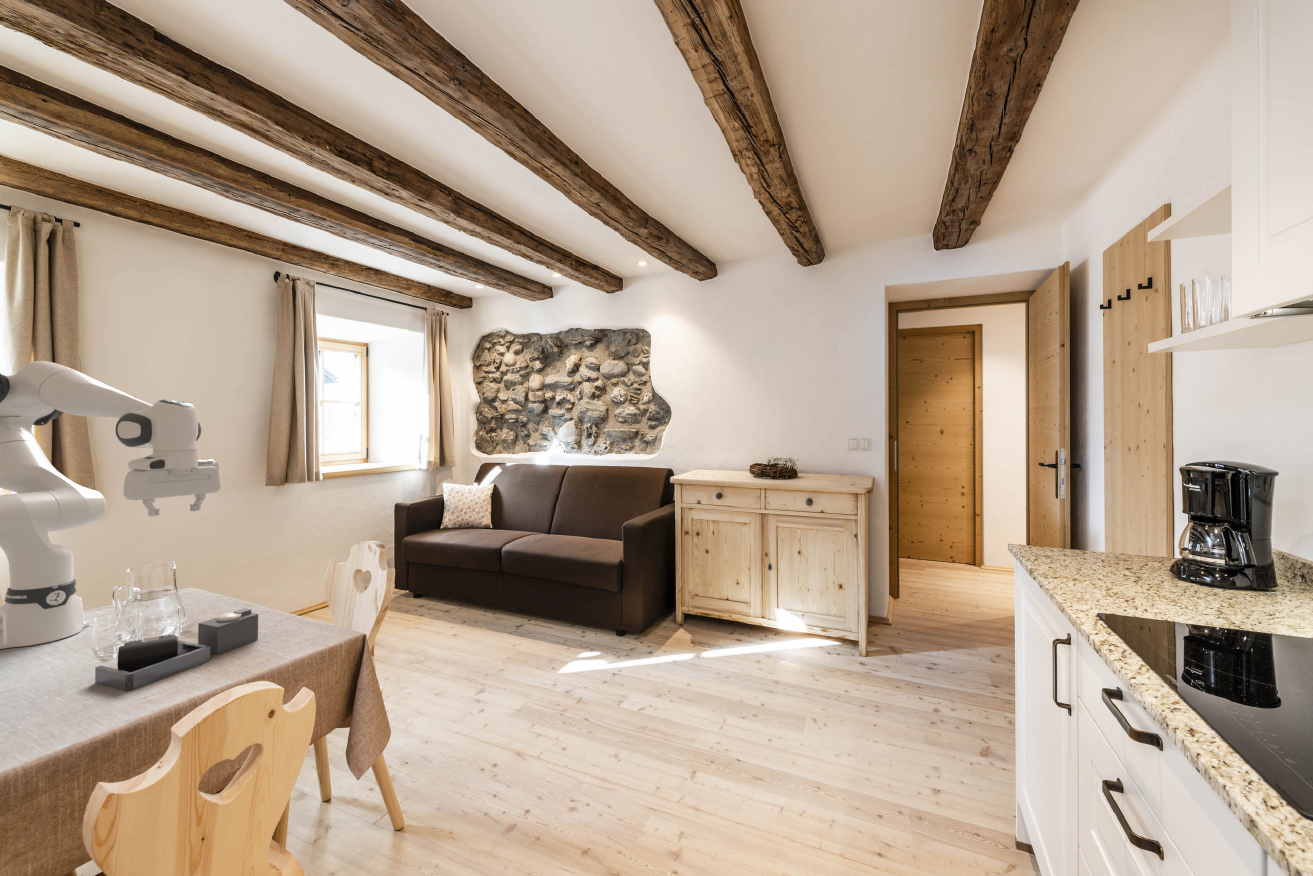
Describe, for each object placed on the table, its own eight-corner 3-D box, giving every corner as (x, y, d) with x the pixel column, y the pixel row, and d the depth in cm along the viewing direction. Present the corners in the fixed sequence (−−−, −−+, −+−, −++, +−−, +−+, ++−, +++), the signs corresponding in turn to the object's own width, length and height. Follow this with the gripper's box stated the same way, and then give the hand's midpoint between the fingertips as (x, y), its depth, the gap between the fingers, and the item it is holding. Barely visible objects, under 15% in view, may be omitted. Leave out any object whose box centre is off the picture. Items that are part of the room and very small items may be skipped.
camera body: (197, 650, 134) (198, 619, 134) (239, 636, 143) (239, 607, 143) (217, 654, 132) (217, 623, 132) (257, 639, 141) (258, 610, 141)
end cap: (117, 680, 118) (117, 650, 118) (120, 669, 123) (120, 640, 123) (177, 668, 124) (177, 639, 124) (178, 657, 130) (178, 630, 130)
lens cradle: (95, 682, 116) (95, 667, 116) (178, 654, 132) (179, 640, 132) (127, 691, 113) (128, 675, 113) (209, 660, 128) (210, 646, 128)
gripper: (210, 459, 150) (210, 507, 150) (119, 462, 130) (119, 518, 130) (226, 459, 148) (225, 508, 148) (136, 463, 128) (136, 520, 128)
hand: (175, 513), depth 139 cm, fingers open, 8 cm apart
